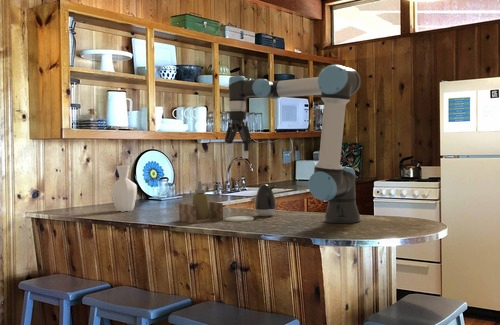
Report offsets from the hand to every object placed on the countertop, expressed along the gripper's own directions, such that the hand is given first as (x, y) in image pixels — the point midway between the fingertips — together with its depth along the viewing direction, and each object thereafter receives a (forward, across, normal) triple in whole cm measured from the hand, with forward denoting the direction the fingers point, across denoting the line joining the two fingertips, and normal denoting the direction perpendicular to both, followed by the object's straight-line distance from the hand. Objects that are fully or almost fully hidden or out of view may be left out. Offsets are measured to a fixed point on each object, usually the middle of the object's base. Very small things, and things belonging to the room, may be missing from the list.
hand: (237, 158), depth 251 cm
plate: (+28, 0, -1) cm, 28 cm away
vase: (+31, +79, +27) cm, 89 cm away
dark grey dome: (+28, +5, -18) cm, 34 cm away
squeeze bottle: (+29, +11, +13) cm, 34 cm away
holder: (+29, +11, +13) cm, 33 cm away
